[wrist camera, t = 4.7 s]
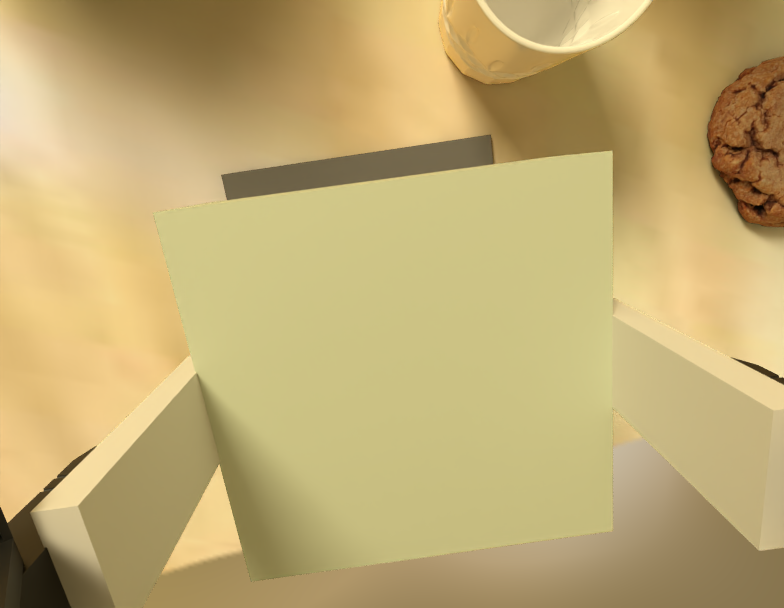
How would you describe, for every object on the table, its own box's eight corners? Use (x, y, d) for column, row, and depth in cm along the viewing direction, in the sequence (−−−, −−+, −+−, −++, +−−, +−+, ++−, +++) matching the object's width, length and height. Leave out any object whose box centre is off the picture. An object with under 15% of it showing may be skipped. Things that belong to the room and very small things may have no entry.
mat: (278, 414, 32) (278, 416, 32) (222, 175, 28) (221, 175, 27) (509, 379, 32) (510, 381, 32) (489, 135, 28) (490, 134, 27)
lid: (276, 493, 18) (251, 581, 14) (209, 202, 15) (152, 212, 11) (561, 454, 18) (612, 530, 14) (550, 156, 15) (612, 150, 11)
